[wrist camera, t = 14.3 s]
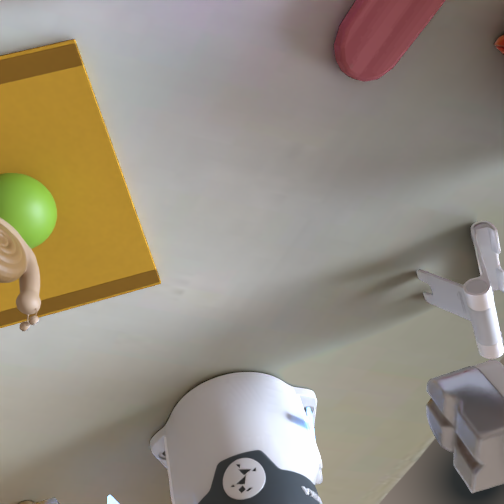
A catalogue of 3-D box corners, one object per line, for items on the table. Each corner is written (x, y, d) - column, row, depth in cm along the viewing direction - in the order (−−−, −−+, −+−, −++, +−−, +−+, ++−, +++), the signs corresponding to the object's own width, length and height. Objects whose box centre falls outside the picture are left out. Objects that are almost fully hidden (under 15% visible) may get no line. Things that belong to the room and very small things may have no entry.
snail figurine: (32, 250, 37) (-5, 354, 27) (-37, 190, 34) (-108, 283, 24) (86, 211, 37) (69, 303, 27) (21, 146, 33) (-27, 223, 23)
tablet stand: (495, 279, 51) (554, 329, 44) (429, 313, 51) (476, 368, 44) (483, 217, 46) (547, 261, 39) (410, 254, 46) (460, 305, 39)
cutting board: (160, 281, 42) (161, 284, 41) (0, 325, 40) (-1, 328, 40) (74, 38, 31) (74, 39, 31) (-147, 89, 30) (-151, 90, 29)
